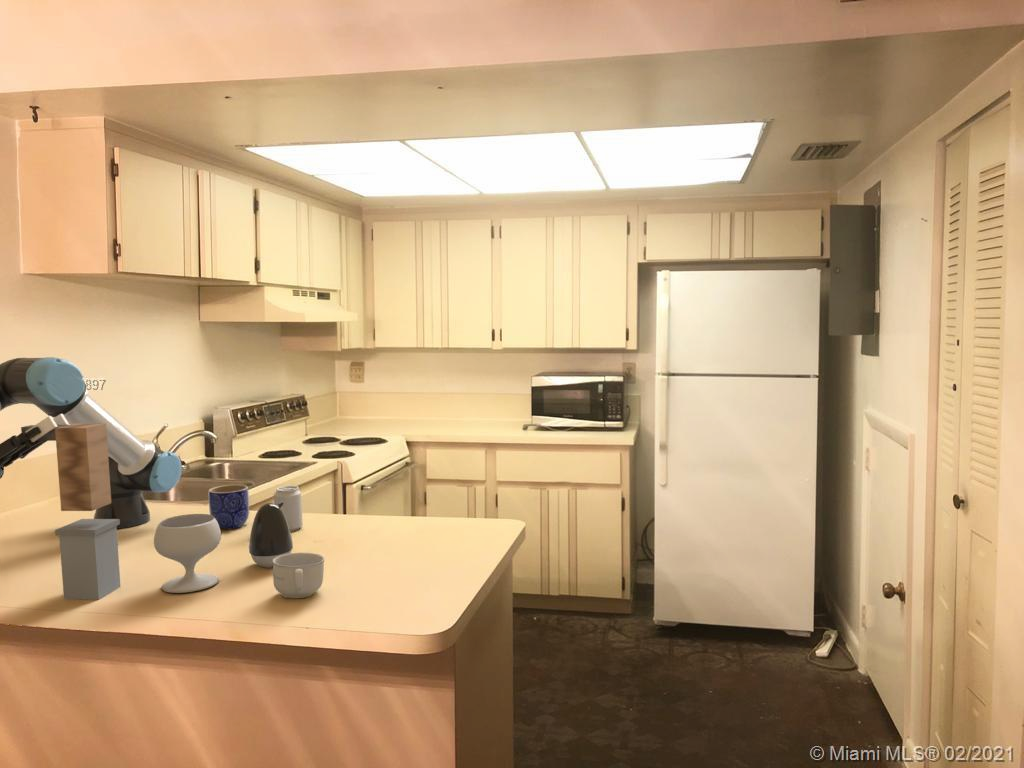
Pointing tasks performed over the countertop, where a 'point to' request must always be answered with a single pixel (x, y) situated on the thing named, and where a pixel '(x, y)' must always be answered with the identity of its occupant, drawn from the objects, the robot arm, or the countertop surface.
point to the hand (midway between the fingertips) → (58, 420)
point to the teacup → (298, 574)
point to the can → (290, 505)
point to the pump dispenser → (269, 535)
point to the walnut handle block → (81, 465)
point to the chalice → (188, 548)
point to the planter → (229, 505)
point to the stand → (89, 558)
